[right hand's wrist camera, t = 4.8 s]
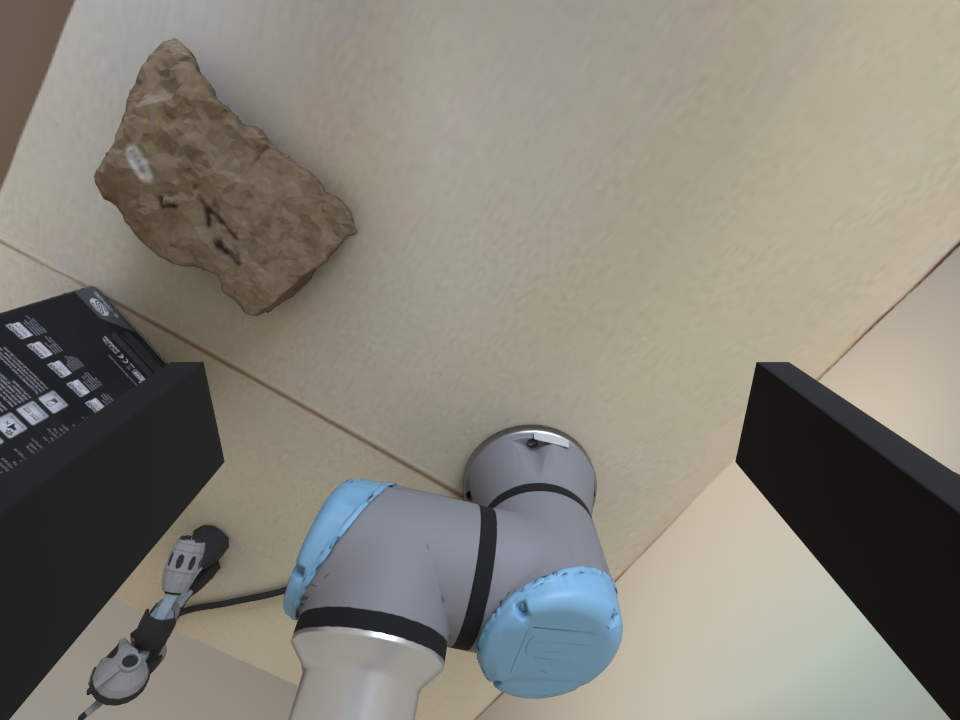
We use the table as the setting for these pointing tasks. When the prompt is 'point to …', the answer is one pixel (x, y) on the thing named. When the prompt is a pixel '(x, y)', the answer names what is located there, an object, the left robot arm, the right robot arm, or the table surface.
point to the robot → (157, 620)
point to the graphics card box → (63, 368)
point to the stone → (216, 188)
